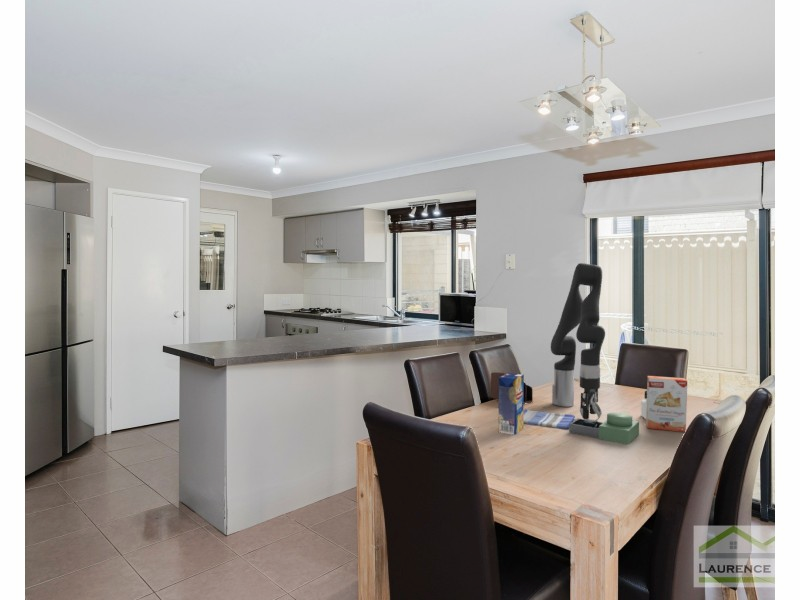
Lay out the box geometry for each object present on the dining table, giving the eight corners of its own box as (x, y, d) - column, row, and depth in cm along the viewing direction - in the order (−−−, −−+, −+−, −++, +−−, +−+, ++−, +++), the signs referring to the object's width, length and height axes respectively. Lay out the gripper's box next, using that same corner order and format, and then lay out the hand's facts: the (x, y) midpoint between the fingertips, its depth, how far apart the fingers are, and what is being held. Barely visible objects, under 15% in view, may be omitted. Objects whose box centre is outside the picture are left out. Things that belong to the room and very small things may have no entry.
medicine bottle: (663, 420, 218) (663, 393, 217) (645, 419, 219) (645, 392, 219) (658, 416, 225) (658, 389, 224) (640, 415, 226) (641, 388, 226)
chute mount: (569, 432, 201) (569, 423, 201) (577, 426, 209) (577, 418, 209) (599, 438, 194) (599, 429, 194) (607, 431, 202) (607, 423, 202)
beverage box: (523, 427, 208) (523, 374, 207) (515, 435, 198) (515, 379, 197) (507, 425, 211) (507, 372, 210) (498, 432, 202) (498, 377, 201)
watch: (599, 432, 198) (600, 404, 197) (578, 429, 202) (578, 401, 202) (602, 428, 203) (603, 401, 202) (581, 425, 207) (582, 399, 206)
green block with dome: (597, 438, 194) (598, 417, 193) (609, 428, 206) (610, 409, 206) (628, 444, 187) (628, 422, 186) (638, 433, 199) (639, 413, 199)
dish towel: (522, 413, 232) (522, 407, 231) (576, 420, 220) (576, 414, 220) (511, 423, 216) (511, 416, 216) (568, 431, 205) (568, 424, 205)
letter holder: (518, 405, 245) (519, 376, 244) (489, 397, 261) (489, 370, 261) (532, 402, 250) (533, 374, 250) (503, 395, 267) (503, 368, 266)
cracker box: (647, 429, 206) (648, 377, 205) (645, 425, 212) (646, 375, 211) (686, 432, 201) (687, 380, 200) (684, 428, 207) (685, 377, 206)
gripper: (586, 372, 208) (585, 411, 209) (574, 377, 197) (573, 418, 198) (605, 374, 204) (604, 414, 205) (594, 379, 193) (593, 422, 193)
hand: (589, 416), depth 201 cm, fingers open, 8 cm apart
